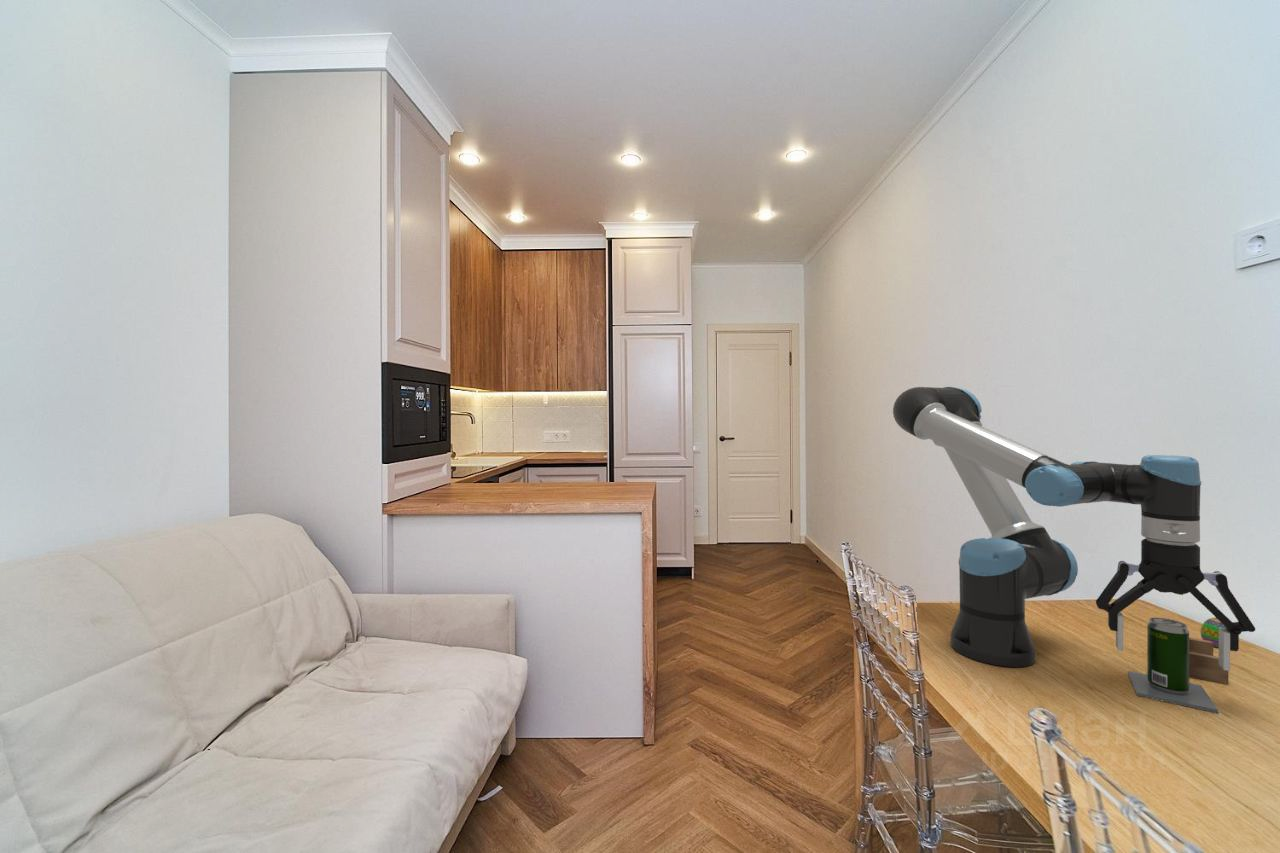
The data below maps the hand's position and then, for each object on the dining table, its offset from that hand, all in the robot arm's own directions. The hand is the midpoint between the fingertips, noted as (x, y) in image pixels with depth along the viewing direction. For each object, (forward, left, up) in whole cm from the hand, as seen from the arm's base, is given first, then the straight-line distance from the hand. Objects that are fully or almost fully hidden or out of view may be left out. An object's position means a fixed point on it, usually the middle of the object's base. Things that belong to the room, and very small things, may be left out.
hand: (1169, 657), depth 95 cm
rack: (+5, +15, -6) cm, 17 cm away
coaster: (0, 0, -6) cm, 6 cm away
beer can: (0, 0, -6) cm, 6 cm away
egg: (+13, +33, -7) cm, 36 cm away
